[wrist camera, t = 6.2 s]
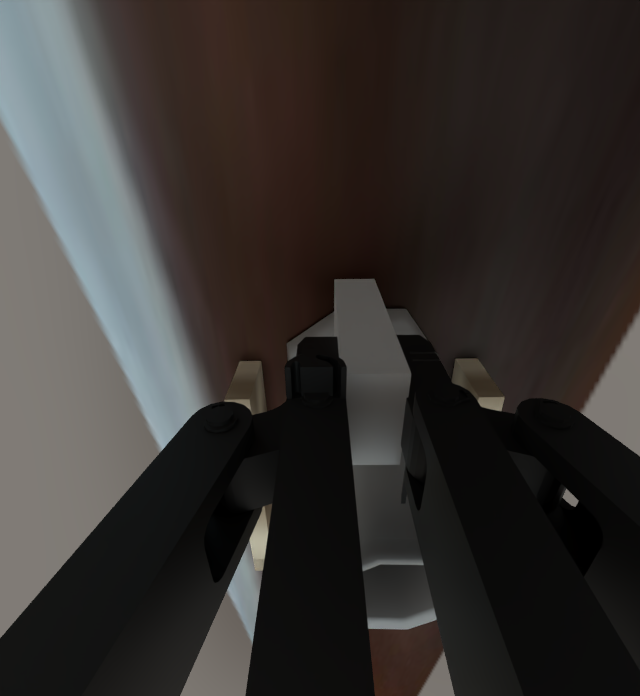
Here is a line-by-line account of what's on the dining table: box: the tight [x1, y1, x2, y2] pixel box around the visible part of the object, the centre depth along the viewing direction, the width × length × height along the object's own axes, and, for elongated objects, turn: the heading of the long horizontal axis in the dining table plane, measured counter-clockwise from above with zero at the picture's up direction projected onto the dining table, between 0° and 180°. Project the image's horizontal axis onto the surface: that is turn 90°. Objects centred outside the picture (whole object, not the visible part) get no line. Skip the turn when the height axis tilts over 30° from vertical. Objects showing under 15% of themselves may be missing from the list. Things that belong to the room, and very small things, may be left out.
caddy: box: [225, 358, 505, 570], centre depth 19 cm, size 12×11×3 cm
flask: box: [287, 309, 438, 629], centre depth 13 cm, size 7×7×10 cm
